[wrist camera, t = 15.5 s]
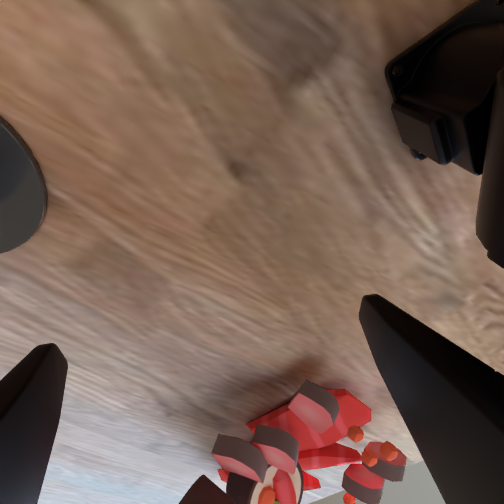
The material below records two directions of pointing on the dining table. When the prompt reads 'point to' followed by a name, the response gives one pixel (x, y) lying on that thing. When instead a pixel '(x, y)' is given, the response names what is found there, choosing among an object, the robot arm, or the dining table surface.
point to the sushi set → (300, 453)
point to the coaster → (19, 190)
